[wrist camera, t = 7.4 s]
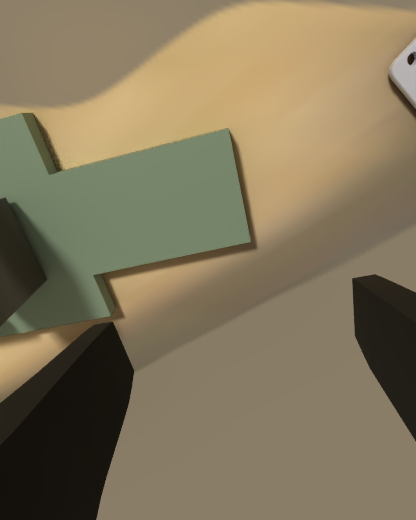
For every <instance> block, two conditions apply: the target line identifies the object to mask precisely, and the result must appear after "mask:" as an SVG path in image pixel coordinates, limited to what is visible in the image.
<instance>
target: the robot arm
mask: <svg viewBox="0 0 416 520" xmlns="http://www.w3.org/2000/svg"><path fill="white" fill-rule="evenodd" d="M411 53H412V54H413V55H414V57H415V58H414V62H413V63H412V65H409V64H408V62H407V58H408V56H409V54H411ZM389 76H390V78H391V80H392V81H393V82H394V83H395V85H396V86H397V87H398V88H399V90H400V91H401V92H402V93H403V94H404V96H405V97H406V98H407V99H408V100H409V102H410V103H411V104H412V105H413V107H414V108H415V109H416V38H415V39H414V40H413V41H412V42H411V43H410V44H409V45H408V46H407V47H406V48H405V49H404V50H403V51H402V52H401V54H400V55H399V56H398V57H397V58H396V59H395V60H394V61H393V62H392V64H391V65H390V68H389ZM352 283H353V304H354V324H355V337H356V339H357V341H358V344H359V345H360V348H361V350H362V352H363V354H364V357H365V359H366V361H367V363H368V365H369V367H370V369H371V370H372V372H373V374H374V375H375V377H376V378H377V380H378V382H379V383H380V385H381V387H382V388H383V390H384V391H385V393H386V395H387V396H388V398H389V399H390V401H391V402H392V404H393V406H394V407H395V409H396V410H397V412H398V414H399V415H400V417H401V418H402V420H403V422H404V423H405V425H406V426H407V428H408V429H409V431H410V432H411V434H412V436H413V437H414V439H415V441H416V293H415V292H413V291H411V290H409V289H406V288H405V287H403V286H400V285H398V284H396V283H394V282H392V281H389V280H387V279H385V278H383V277H380V276H378V275H369V276H363V277H358V278H353V279H352ZM133 375H134V369H133V367H132V365H131V362H130V360H129V358H128V356H127V353H126V351H125V349H124V346H123V344H122V342H121V340H120V337H119V335H118V333H117V330H116V328H115V326H114V323H113V322H108V323H102V324H97V325H94V326H92V327H91V328H89V329H88V330H87V331H85V332H84V333H83V334H82V335H81V336H79V337H78V338H77V339H76V340H75V341H73V342H72V343H71V344H70V345H69V346H68V347H67V348H65V349H64V350H63V351H62V352H61V353H60V354H58V355H57V356H56V357H55V358H54V359H53V360H52V361H50V362H49V363H48V364H47V365H46V366H45V367H44V368H42V369H41V370H40V371H39V372H38V373H37V374H35V375H34V376H33V377H32V378H30V379H29V380H28V381H27V382H26V383H24V384H23V385H22V386H21V387H20V388H18V389H17V390H16V391H15V392H13V393H12V394H11V395H10V396H9V397H7V398H6V399H5V400H4V401H2V402H1V403H0V520H96V518H97V514H98V509H99V504H100V499H101V495H102V491H103V487H104V484H105V480H106V477H107V473H108V470H109V467H110V464H111V461H112V457H113V454H114V451H115V447H116V444H117V441H118V438H119V434H120V431H121V428H122V425H123V421H124V418H125V415H126V411H127V408H128V404H129V399H130V394H131V389H132V381H133Z"/></svg>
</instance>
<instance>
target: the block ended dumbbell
mask: <svg viewBox="0 0 416 520" xmlns="http://www.w3.org/2000/svg"><path fill="white" fill-rule="evenodd" d="M46 280H47V277H46V276H45V274H44V272H43V270H42V268H41V266H40V264H39V262H38V260H37V258H36V256H35V254H34V252H33V250H32V248H31V246H30V244H29V242H28V240H27V238H26V236H25V235H24V233H23V231H22V229H21V227H20V225H19V223H18V221H17V219H16V217H15V215H14V213H13V211H12V209H11V207H10V205H9V203H8V201H7V199H6V197H5V198H1V199H0V327H1V326H2V325H3V324H4V323H5V322H6V321H7V320H8V319H9V318H10V317H11V316H12V315H13V314H14V312H15V311H16V310H17V309H18V308H19V307H20V306H21V305H22V304H23V303H24V302H25V301H26V300H27V299H28V298H29V297H30V296H31V295H32V294H33V293H34V292H35V291H36V290H37V289H38V288H39V287H40V286H41V285H42V284H43V283H44V282H45V281H46Z"/></svg>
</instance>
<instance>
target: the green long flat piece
mask: <svg viewBox="0 0 416 520" xmlns="http://www.w3.org/2000/svg"><path fill="white" fill-rule="evenodd" d="M5 197H6V199H7V201H8V203H9V205H10V207H11V209H12V211H13V213H14V215H15V217H16V219H17V221H18V223H19V225H20V227H21V229H22V231H23V233H24V235H25V236H26V238H27V240H28V242H29V244H30V246H31V248H32V250H33V252H34V254H35V256H36V258H37V260H38V262H39V264H40V266H41V268H42V270H43V272H44V274H45V276H46V277H47V280H46V281H45V282H44V283H43V284H42V285H41V286H40V287H39V288H38V289H37V290H36V291H35V292H34V293H33V294H32V295H31V296H30V297H29V298H28V299H27V300H26V301H25V302H24V303H23V304H22V305H21V306H20V307H19V308H18V309H17V310H16V311H15V312H14V314H13V315H12V316H11V317H10V318H9V319H8V320H7V321H6V322H5V323H4V324H3V325H2V326H1V327H0V337H4V336H10V335H15V334H20V333H25V332H30V331H36V330H41V329H46V328H51V327H56V326H62V325H67V324H72V323H77V322H82V321H88V320H93V319H98V318H103V317H108V316H111V315H112V313H113V311H114V309H115V305H114V302H113V300H112V298H111V295H110V293H109V291H108V288H107V286H106V284H105V281H104V279H103V277H102V274H101V273H105V272H110V271H115V270H120V269H124V268H129V267H134V266H139V265H143V264H148V263H153V262H158V261H162V260H167V259H172V258H177V257H181V256H186V255H191V254H196V253H200V252H205V251H210V250H215V249H219V248H224V247H229V246H234V245H238V244H243V243H248V242H251V240H250V235H249V230H248V225H247V220H246V215H245V209H244V204H243V199H242V194H241V189H240V184H239V179H238V174H237V169H236V164H235V159H234V154H233V149H232V143H231V138H230V133H229V129H228V128H226V129H223V130H219V131H215V132H211V133H207V134H203V135H199V136H195V137H191V138H187V139H184V140H180V141H176V142H172V143H168V144H164V145H160V146H156V147H152V148H148V149H144V150H141V151H137V152H133V153H129V154H125V155H121V156H117V157H113V158H109V159H105V160H102V161H98V162H94V163H90V164H86V165H82V166H78V167H74V168H70V169H66V170H62V171H59V172H58V171H57V169H56V167H55V164H54V162H53V160H52V157H51V155H50V153H49V150H48V148H47V146H46V143H45V141H44V139H43V136H42V134H41V132H40V129H39V127H38V125H37V122H36V120H35V118H34V115H33V113H20V114H17V115H13V116H10V117H6V118H3V119H0V199H1V198H5Z"/></svg>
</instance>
